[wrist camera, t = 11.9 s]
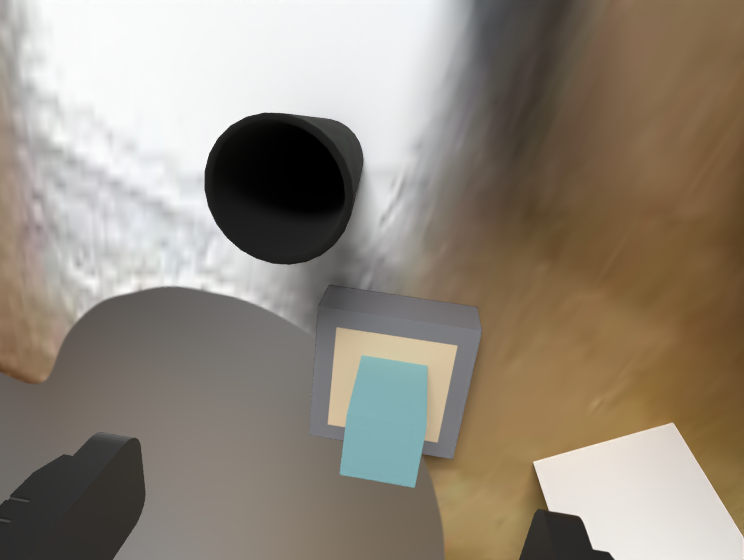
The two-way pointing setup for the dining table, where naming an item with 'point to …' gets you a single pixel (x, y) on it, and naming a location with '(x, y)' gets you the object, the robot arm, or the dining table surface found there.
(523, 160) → the dining table surface
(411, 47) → the dining table surface
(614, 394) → the dining table surface
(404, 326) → the plinth
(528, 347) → the dining table surface
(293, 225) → the cup
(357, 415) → the teal block
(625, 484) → the milk
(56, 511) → the robot arm
